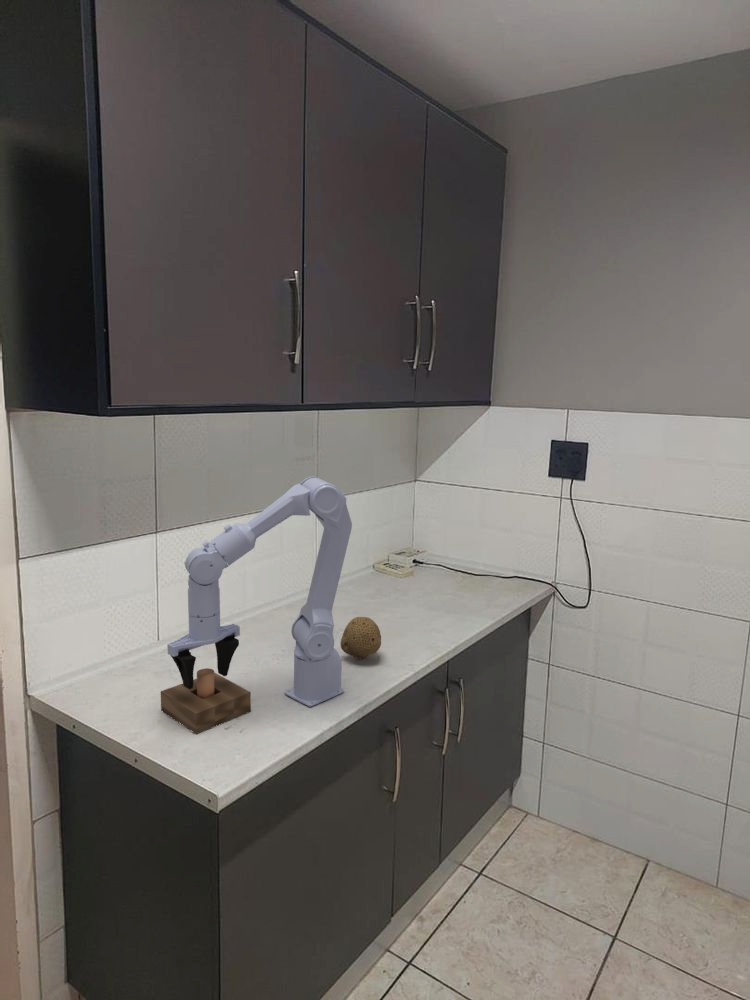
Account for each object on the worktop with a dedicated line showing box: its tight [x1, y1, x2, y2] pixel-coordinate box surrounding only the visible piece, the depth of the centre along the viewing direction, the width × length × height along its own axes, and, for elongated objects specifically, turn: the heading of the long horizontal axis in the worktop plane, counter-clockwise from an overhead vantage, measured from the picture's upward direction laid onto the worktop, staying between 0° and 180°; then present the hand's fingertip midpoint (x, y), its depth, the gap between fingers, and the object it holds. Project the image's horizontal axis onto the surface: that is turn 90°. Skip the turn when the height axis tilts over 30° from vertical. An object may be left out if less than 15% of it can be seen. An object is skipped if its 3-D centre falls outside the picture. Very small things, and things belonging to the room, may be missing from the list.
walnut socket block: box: [160, 672, 252, 735], centre depth 130 cm, size 12×12×4 cm
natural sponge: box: [340, 616, 382, 660], centre depth 156 cm, size 9×9×10 cm
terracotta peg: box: [196, 667, 215, 699], centre depth 130 cm, size 3×3×7 cm
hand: (205, 680), depth 130 cm, fingers open, 7 cm apart
